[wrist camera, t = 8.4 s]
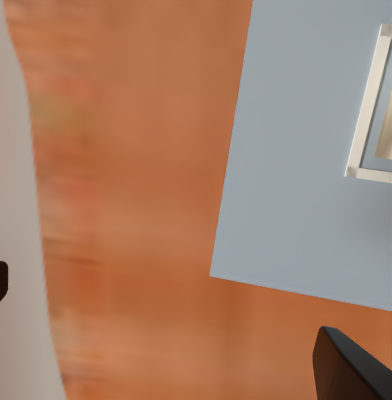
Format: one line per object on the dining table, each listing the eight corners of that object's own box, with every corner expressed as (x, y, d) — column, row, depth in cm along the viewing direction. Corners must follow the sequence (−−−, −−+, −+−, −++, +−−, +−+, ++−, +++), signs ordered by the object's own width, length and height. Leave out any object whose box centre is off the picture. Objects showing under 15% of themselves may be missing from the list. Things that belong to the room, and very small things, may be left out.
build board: (460, 319, 20) (468, 327, 19) (210, 272, 22) (209, 277, 21) (574, 6, 16) (590, -1, 15) (256, -22, 18) (257, -29, 17)
